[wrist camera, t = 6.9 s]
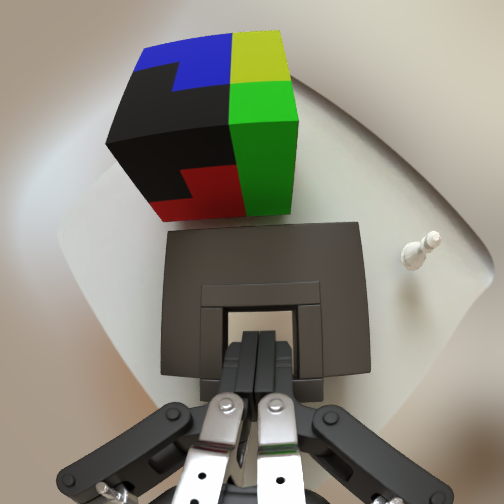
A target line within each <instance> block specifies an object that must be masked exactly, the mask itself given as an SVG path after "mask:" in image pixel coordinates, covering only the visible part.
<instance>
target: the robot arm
mask: <svg viewBox="0 0 504 504" xmlns="http://www.w3.org/2000/svg"><path fill="white" fill-rule="evenodd" d="M257 418H258V454H257V461H258V485H257V486H252V487H245V488H242V487H243V472H244V466H245V461H246V456H247V451H248V446H249V441H250V432H251V422H257ZM300 451H302V452H306V453H309V454H310V455H311V457H312V458H313V459H315V460H316V461H317V462H318V463H319V464H320V465H321V466H322V467H323V468H324V469H325V470H326V471H328V472H329V473H330V474H331V475H332V476H333V477H334V478H335V479H337V480H338V481H339V482H340V483H341V484H342V485H343V486H345V487H346V488H347V489H348V490H349V491H350V492H352V493H353V494H354V495H355V496H356V497H358V498H359V499H360V500H361V501H362V502H364V503H365V504H453V501H454V493H453V491H452V489H451V488H450V487H449V486H448V485H447V484H445V483H444V482H442V481H440V480H439V479H438V478H436V477H435V476H433V475H432V474H430V473H429V472H427V471H426V470H424V469H423V468H422V467H420V466H419V465H417V464H416V463H414V462H413V461H412V460H410V459H409V458H407V457H406V456H405V455H403V454H402V453H400V452H399V451H398V450H396V449H395V448H394V447H392V446H391V445H390V444H388V443H387V442H386V441H384V440H383V439H382V438H380V437H379V436H378V435H376V434H375V433H374V432H372V431H371V430H370V429H369V428H367V427H366V426H365V425H363V424H362V423H361V422H360V421H358V420H357V419H356V418H354V417H353V416H352V415H351V414H349V413H348V412H347V411H346V410H344V409H343V408H342V407H340V406H337V405H325V406H322V407H320V408H319V409H314V408H310V407H306V406H303V405H302V404H300V403H299V402H298V401H297V400H296V399H295V397H294V394H293V367H292V348H291V346H290V345H289V343H288V342H287V341H276V330H266V331H260V334H259V331H243V334H242V340H241V342H232V343H231V344H230V345H229V347H228V348H227V349H226V352H225V357H224V362H223V367H222V372H221V377H220V382H219V387H218V392H217V395H216V396H215V397H213V398H212V400H211V401H210V402H209V403H208V404H206V405H203V406H198V407H193V408H188V407H187V406H186V405H184V404H182V403H179V402H171V403H168V404H166V405H164V406H163V407H161V408H160V409H158V410H157V411H155V412H154V413H152V414H151V415H149V416H148V417H146V418H145V419H143V420H142V421H140V422H139V423H138V424H136V425H134V426H133V427H131V428H130V429H128V430H127V431H125V432H124V433H122V434H121V435H119V436H117V437H116V438H114V439H113V440H111V441H109V442H108V443H106V444H105V445H103V446H101V447H100V448H98V449H96V450H95V451H93V452H91V453H90V454H88V455H86V456H85V457H83V458H81V459H80V460H78V461H76V462H74V463H73V464H71V465H69V466H67V467H65V468H64V469H62V470H61V471H60V472H59V473H58V475H57V478H56V484H57V487H58V489H59V490H60V492H61V493H63V494H64V495H66V496H68V497H69V498H71V499H72V500H73V501H75V502H76V503H77V504H138V499H137V498H138V497H139V496H141V495H142V494H144V493H145V492H147V491H149V490H150V489H151V488H153V487H155V486H156V485H157V484H159V483H160V482H162V481H163V480H165V479H166V478H168V477H169V476H170V475H172V474H173V473H174V472H176V471H177V470H179V469H180V468H181V467H183V466H184V467H183V470H182V473H181V476H180V479H179V482H178V485H177V486H174V487H172V488H170V489H168V490H167V491H165V492H164V493H162V494H161V495H160V496H158V497H157V498H156V499H154V500H153V501H151V502H150V503H149V504H330V503H329V502H328V501H327V500H326V499H325V498H323V497H322V496H320V495H319V494H317V493H315V492H313V491H311V490H308V489H304V484H303V474H302V465H301V455H300Z"/></svg>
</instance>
